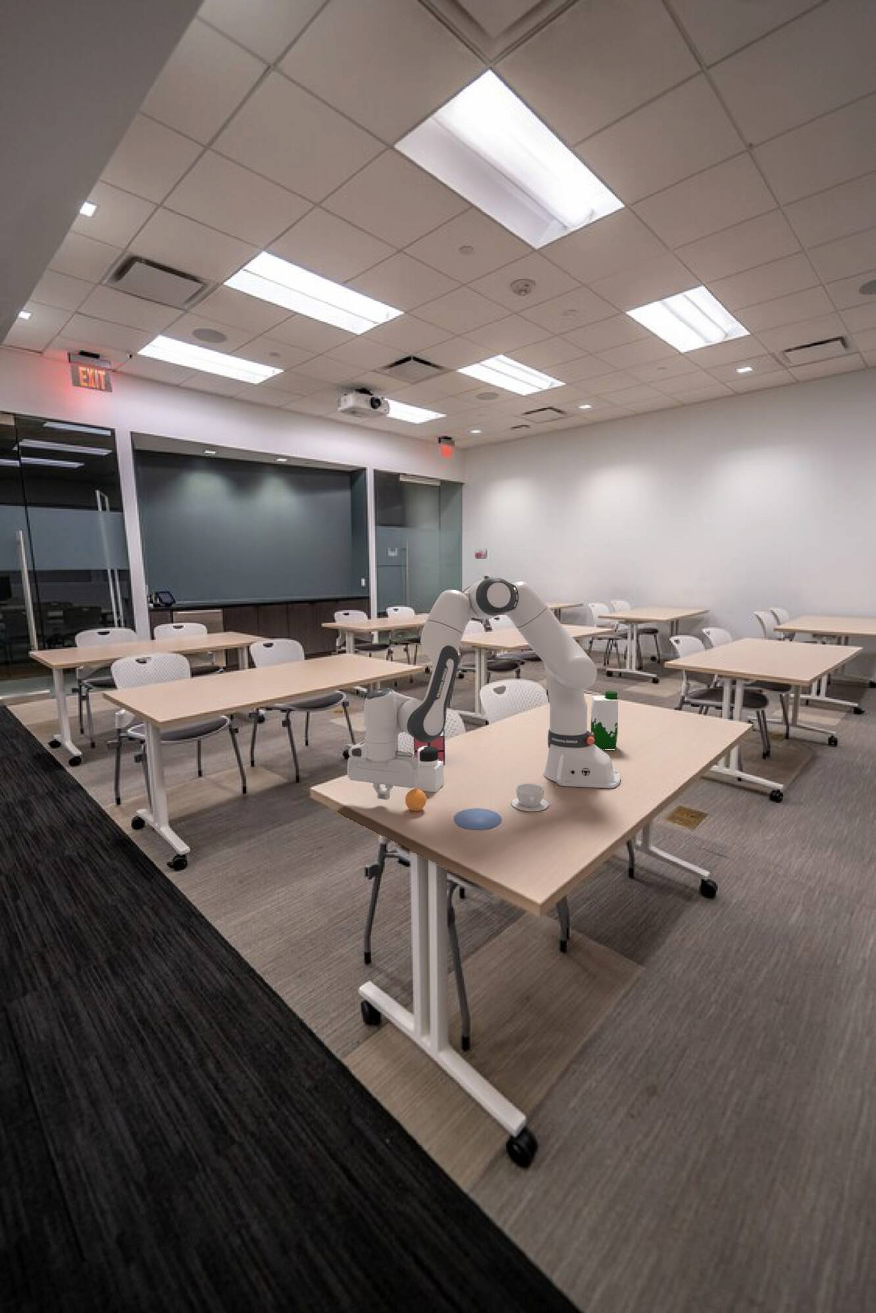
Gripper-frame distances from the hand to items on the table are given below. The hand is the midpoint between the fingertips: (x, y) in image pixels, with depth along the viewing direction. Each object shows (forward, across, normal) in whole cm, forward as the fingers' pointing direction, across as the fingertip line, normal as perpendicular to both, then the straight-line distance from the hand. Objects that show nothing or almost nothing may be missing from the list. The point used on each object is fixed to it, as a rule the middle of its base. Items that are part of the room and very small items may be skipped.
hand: (383, 798), depth 148 cm
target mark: (+2, -27, 0) cm, 27 cm away
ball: (-1, -10, 0) cm, 10 cm away
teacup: (+2, -37, -13) cm, 40 cm away
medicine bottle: (+2, -7, -16) cm, 17 cm away
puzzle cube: (+2, +2, -38) cm, 38 cm away
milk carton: (+2, -52, -70) cm, 87 cm away
